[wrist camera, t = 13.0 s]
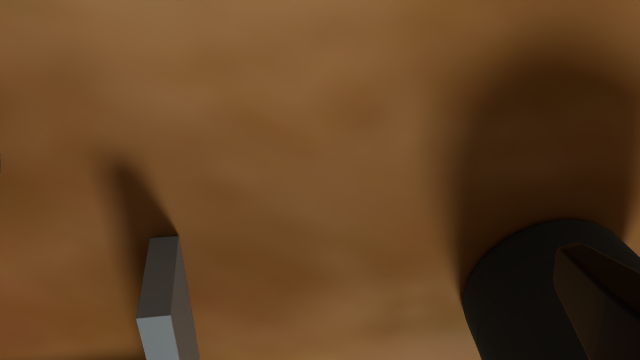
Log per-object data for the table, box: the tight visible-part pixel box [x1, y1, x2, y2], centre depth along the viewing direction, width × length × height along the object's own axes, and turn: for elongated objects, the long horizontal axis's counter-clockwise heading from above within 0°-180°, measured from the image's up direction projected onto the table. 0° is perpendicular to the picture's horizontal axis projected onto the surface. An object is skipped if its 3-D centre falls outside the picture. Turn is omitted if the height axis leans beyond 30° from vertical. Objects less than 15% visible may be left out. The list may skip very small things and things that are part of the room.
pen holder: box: [463, 220, 640, 360], centre depth 24 cm, size 9×9×10 cm
